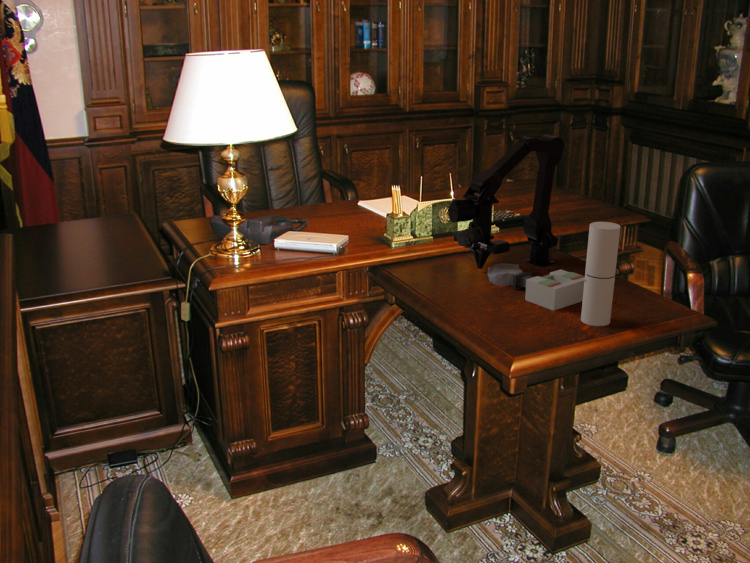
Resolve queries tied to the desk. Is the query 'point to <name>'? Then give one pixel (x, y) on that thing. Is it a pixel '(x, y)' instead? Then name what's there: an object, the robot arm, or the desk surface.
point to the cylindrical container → (600, 273)
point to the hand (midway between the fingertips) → (479, 268)
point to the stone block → (503, 273)
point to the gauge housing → (555, 290)
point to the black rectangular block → (525, 278)
